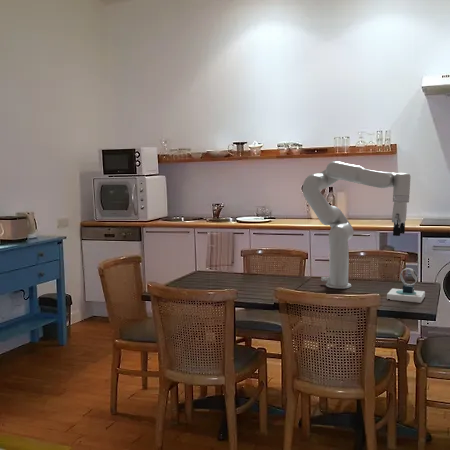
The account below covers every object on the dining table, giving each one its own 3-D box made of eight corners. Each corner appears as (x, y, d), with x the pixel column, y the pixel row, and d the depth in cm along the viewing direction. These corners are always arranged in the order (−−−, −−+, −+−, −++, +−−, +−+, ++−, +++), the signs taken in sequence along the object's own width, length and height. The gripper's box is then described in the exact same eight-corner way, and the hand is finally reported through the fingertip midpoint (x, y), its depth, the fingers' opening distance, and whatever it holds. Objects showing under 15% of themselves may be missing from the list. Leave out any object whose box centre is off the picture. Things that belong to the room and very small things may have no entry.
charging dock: (386, 299, 267) (387, 293, 267) (396, 288, 288) (396, 283, 288) (420, 302, 260) (421, 296, 260) (427, 291, 282) (428, 286, 281)
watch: (416, 293, 266) (417, 270, 265) (398, 292, 270) (399, 268, 268) (418, 291, 271) (419, 268, 270) (400, 289, 275) (401, 266, 273)
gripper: (397, 197, 285) (395, 231, 287) (388, 199, 270) (386, 235, 272) (412, 198, 282) (410, 233, 284) (405, 200, 267) (402, 237, 269)
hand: (398, 234), depth 278 cm, fingers open, 9 cm apart
